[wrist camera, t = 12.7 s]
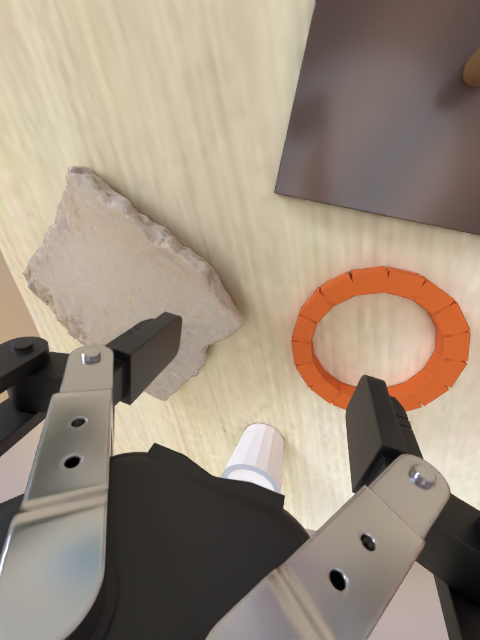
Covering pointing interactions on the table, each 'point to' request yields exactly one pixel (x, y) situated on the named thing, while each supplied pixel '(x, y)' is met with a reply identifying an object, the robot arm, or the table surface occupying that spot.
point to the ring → (401, 283)
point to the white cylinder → (258, 457)
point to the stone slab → (127, 277)
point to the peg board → (389, 111)
